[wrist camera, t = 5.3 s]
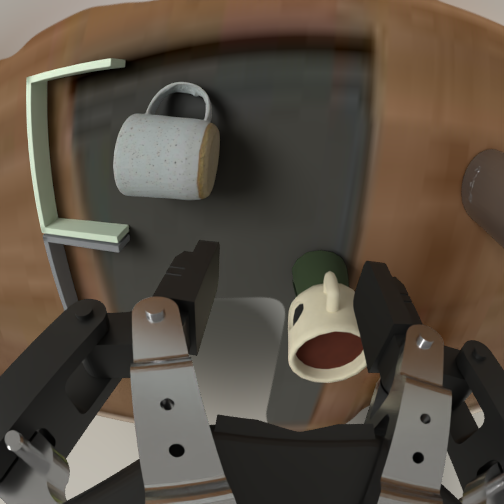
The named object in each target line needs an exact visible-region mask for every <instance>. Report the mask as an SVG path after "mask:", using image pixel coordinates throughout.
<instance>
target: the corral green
mask: <svg viewBox="0 0 504 504" xmlns="http://www.w3.org/2000/svg"><path fill="white" fill-rule="evenodd" d="M122 67H125V60H121V59H112V58H110V59H104V60H98V61H92V62H87V63H82V64H77V65H73V66H68V67H64V68H60V69H56V70H52V71H48V72H44V73H41V74H37V75H34V76H30V77H27V92H26V103H27V132H28V146H29V157H30V166H31V174H32V181H33V188H34V194H35V200H36V206H37V211H38V216H39V221H40V226H41V231H42V233H47V234H54V235H61V236H69V237H76V238H83V239H91V240H98V241H106V242H113V243H118V242H119V241H120V240H121V239H122V238H123V237H124V236H125V235H126V234H127V233H128V232H129V226H128V225H124V224H115V223H105V222H96V221H86V220H76V219H66V218H58V215H57V209H56V203H55V196H54V189H53V182H52V174H51V165H50V154H49V141H48V121H47V81H49V80H53V79H58V78H62V77H67V76H72V75H77V74H82V73H88V72H94V71H100V70H107V69H114V68H122Z"/></svg>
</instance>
